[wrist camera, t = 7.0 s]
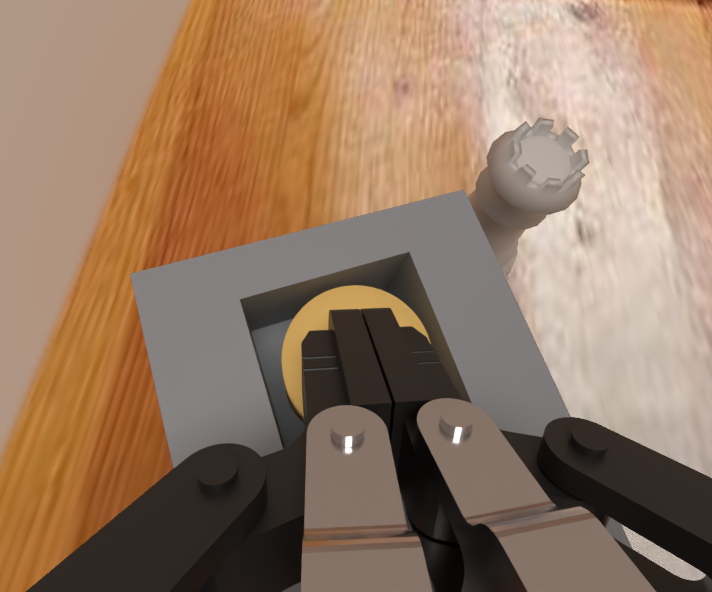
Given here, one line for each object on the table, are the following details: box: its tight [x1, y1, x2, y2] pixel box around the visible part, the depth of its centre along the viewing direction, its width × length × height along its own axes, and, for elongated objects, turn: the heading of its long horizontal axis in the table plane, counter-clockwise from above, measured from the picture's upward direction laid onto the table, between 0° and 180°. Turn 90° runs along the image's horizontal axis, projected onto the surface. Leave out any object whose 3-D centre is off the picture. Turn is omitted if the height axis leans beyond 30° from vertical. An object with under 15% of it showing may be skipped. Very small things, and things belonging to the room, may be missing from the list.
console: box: [130, 190, 632, 592], centre depth 14 cm, size 10×18×7 cm, turn 19°
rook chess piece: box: [468, 118, 589, 276], centre depth 17 cm, size 4×4×8 cm
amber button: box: [282, 285, 431, 423], centre depth 13 cm, size 4×4×4 cm
